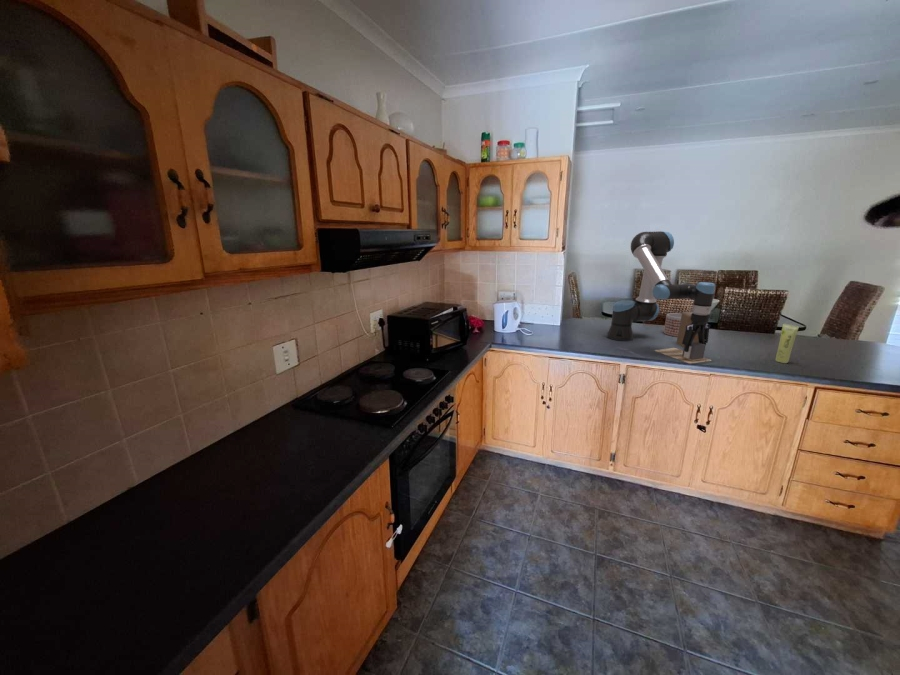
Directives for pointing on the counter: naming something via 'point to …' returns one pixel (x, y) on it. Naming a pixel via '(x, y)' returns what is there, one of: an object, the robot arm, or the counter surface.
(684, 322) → the wooden block
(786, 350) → the tube
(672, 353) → the board
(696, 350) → the block
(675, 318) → the planter
